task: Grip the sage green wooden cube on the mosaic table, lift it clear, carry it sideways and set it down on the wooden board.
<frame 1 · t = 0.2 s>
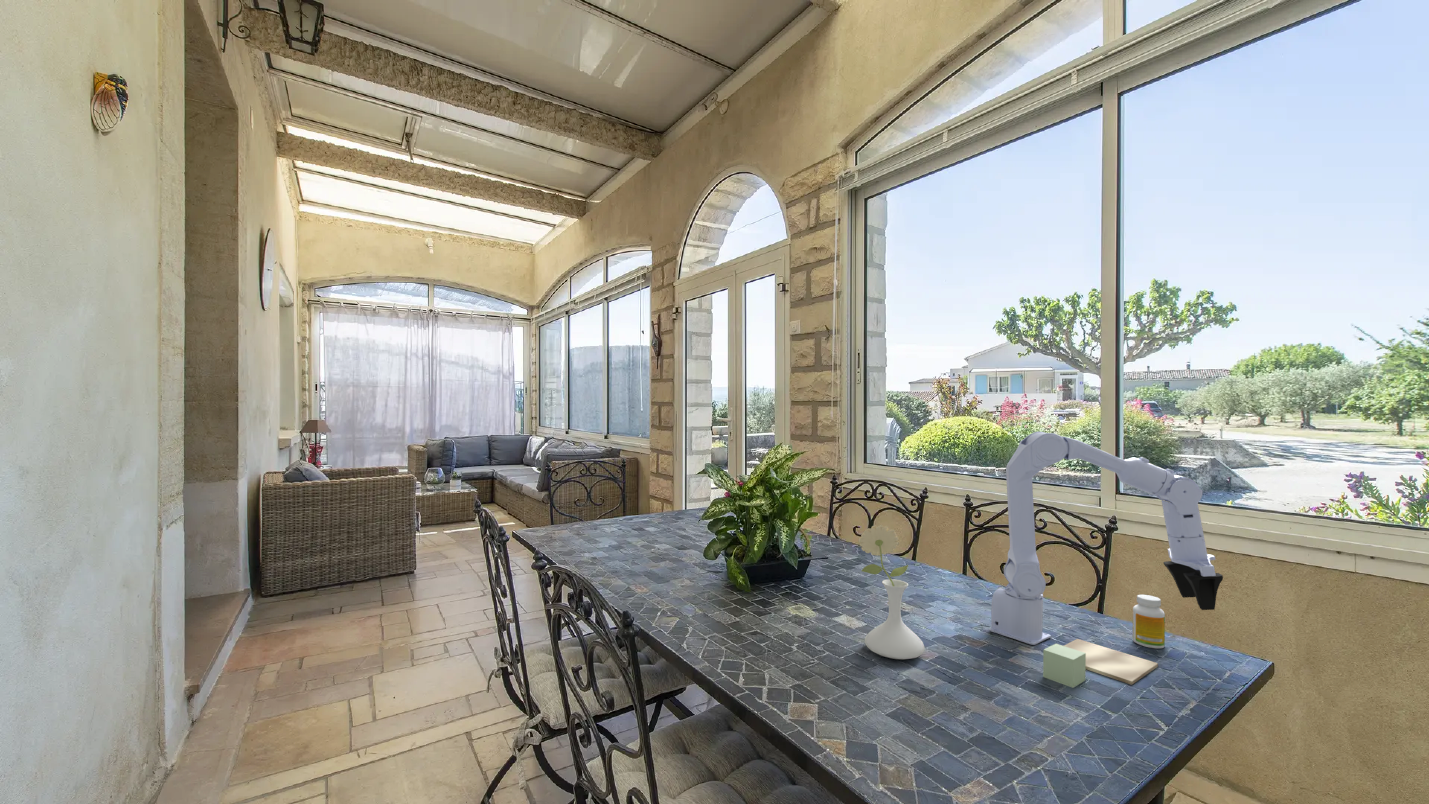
hand: (1197, 602, 115), 11 cm above the table, tool pointing down, fingers open, 7 cm apart
sage cube: (1064, 679, 104), on the table
flower in vase: (889, 652, 114), on the table
supplement bottle: (1148, 644, 120), on the table
wooden board: (1102, 661, 111), on the table
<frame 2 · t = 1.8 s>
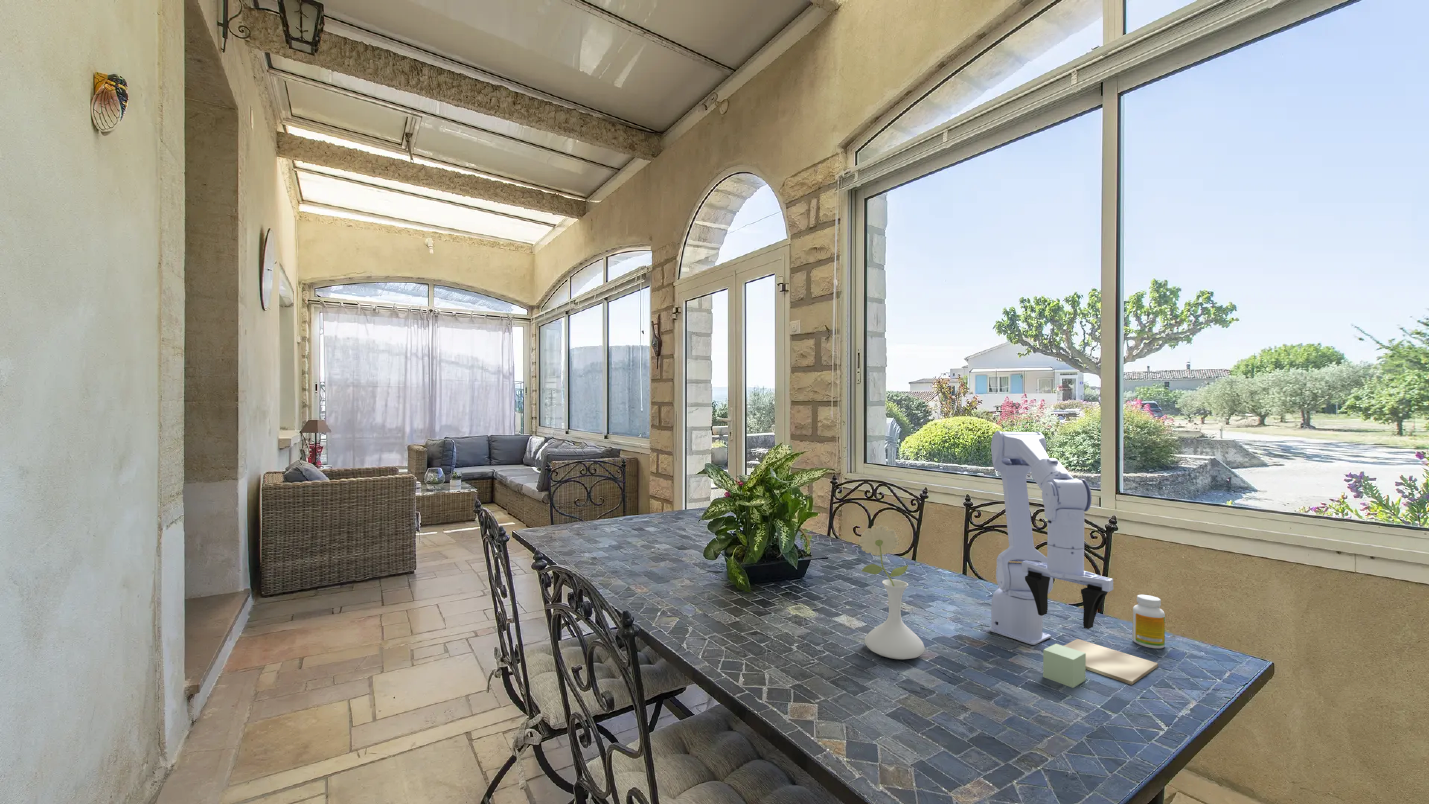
hand: (1064, 620, 104), 10 cm above the table, tool pointing down, fingers open, 7 cm apart
nothing on the table moved.
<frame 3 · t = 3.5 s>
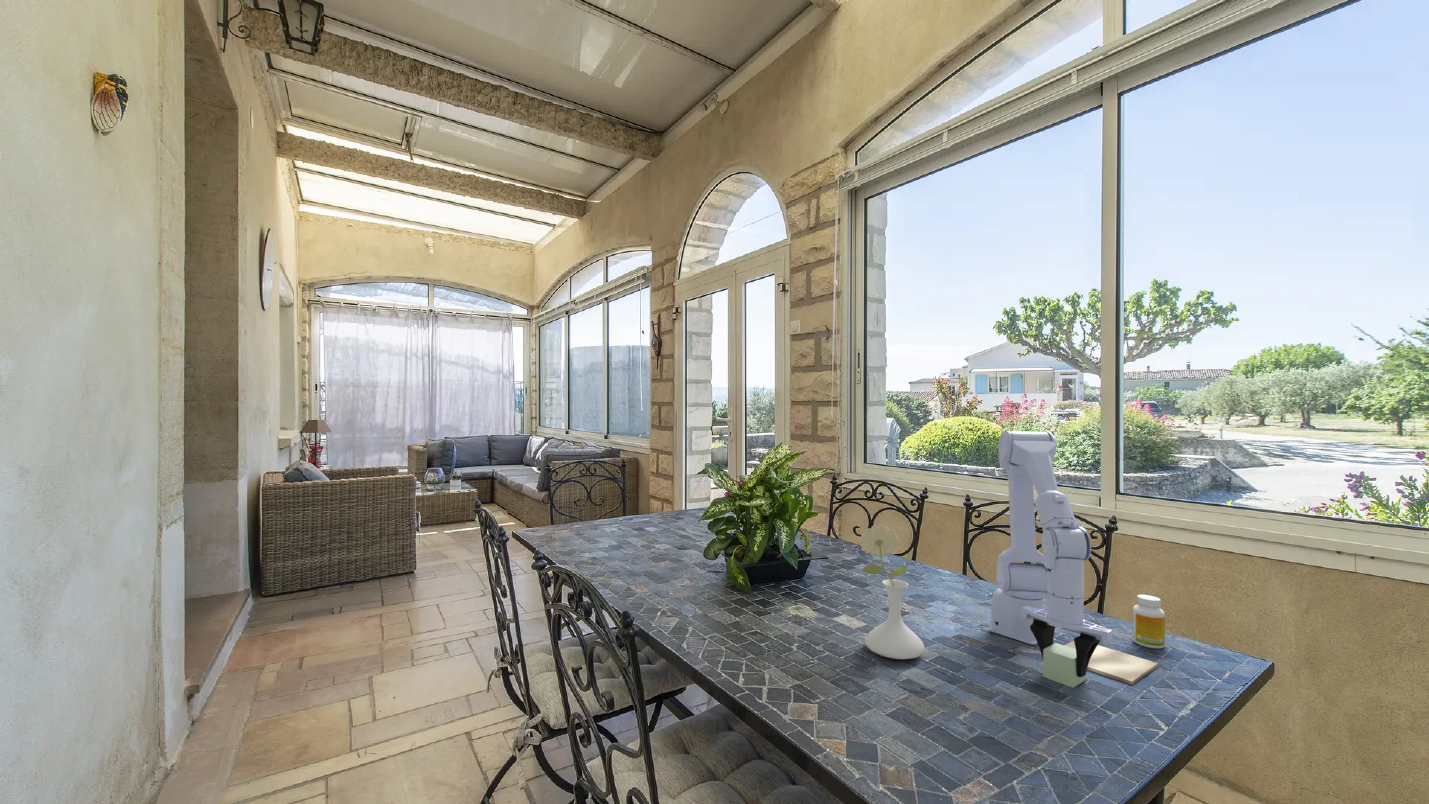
hand: (1064, 669, 104), 2 cm above the table, tool pointing down, fingers closed on sage cube, 5 cm apart
sage cube: (1064, 678, 104), on the table, touching gripper
everything else where it was.
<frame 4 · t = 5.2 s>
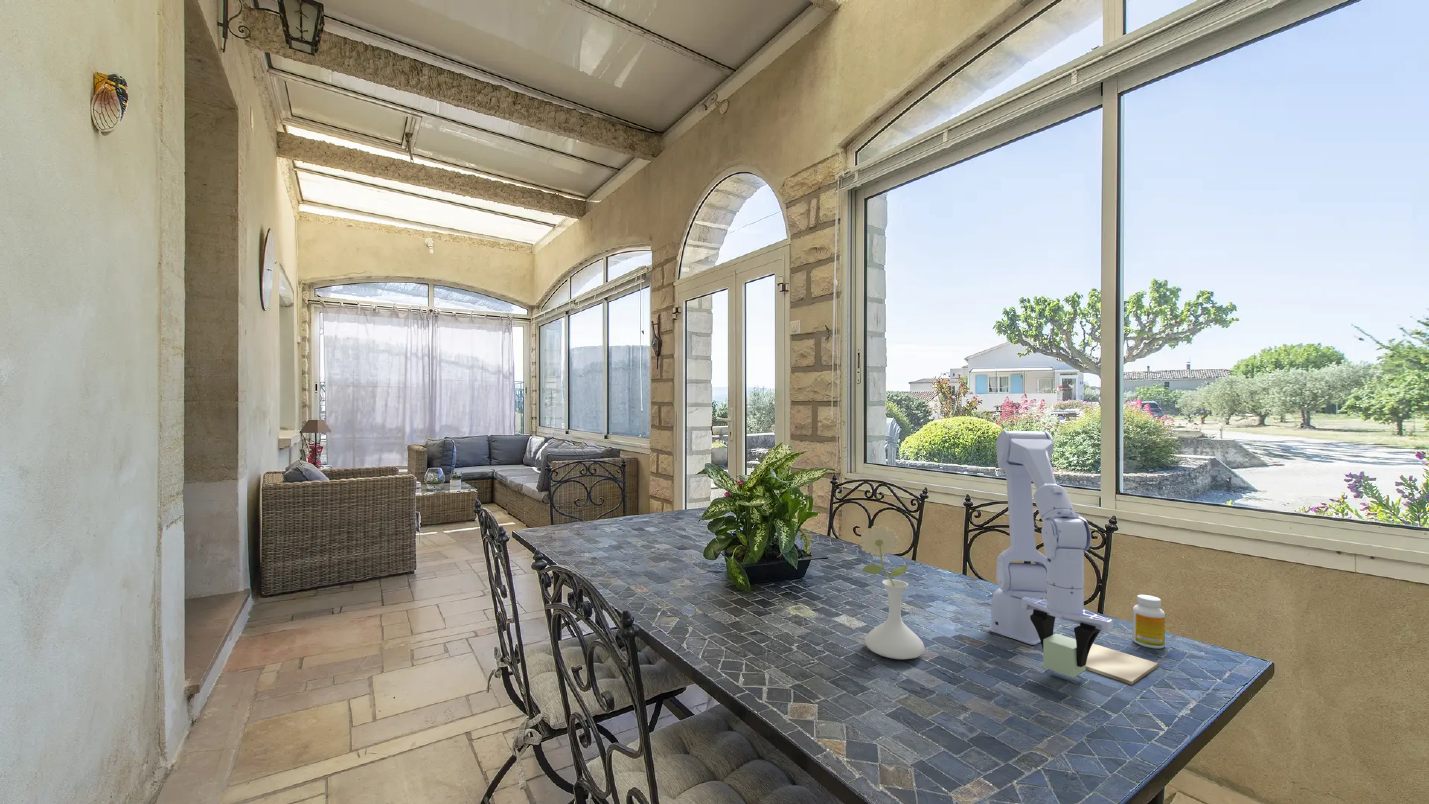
hand: (1064, 659, 104), 3 cm above the table, tool pointing down, fingers closed on sage cube, 5 cm apart
sage cube: (1064, 668, 104), point 2 cm above the table, touching gripper
everything else where it was.
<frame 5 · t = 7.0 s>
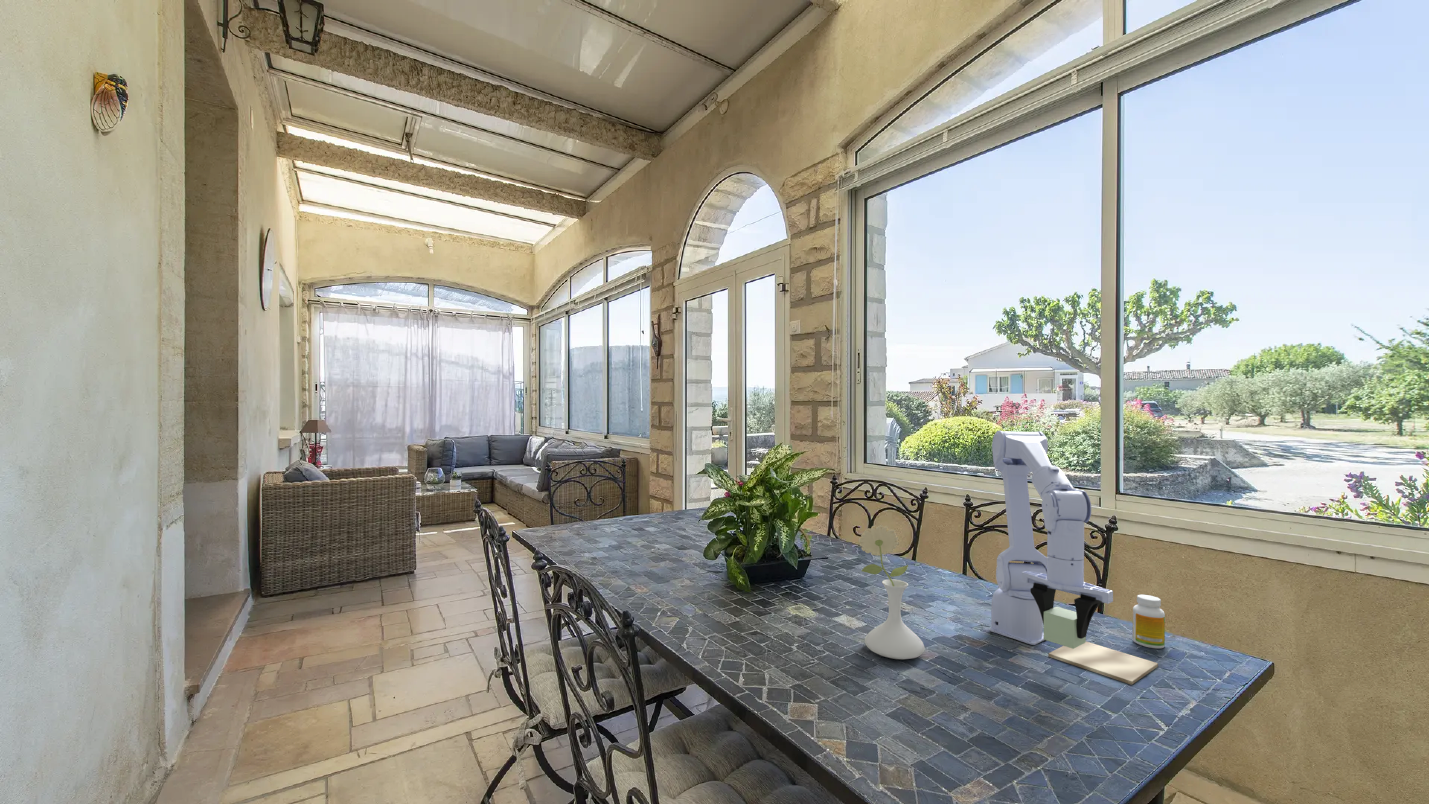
hand: (1064, 631, 104), 8 cm above the table, tool pointing down, fingers closed on sage cube, 5 cm apart
sage cube: (1064, 640, 104), point 7 cm above the table, touching gripper
everything else where it was.
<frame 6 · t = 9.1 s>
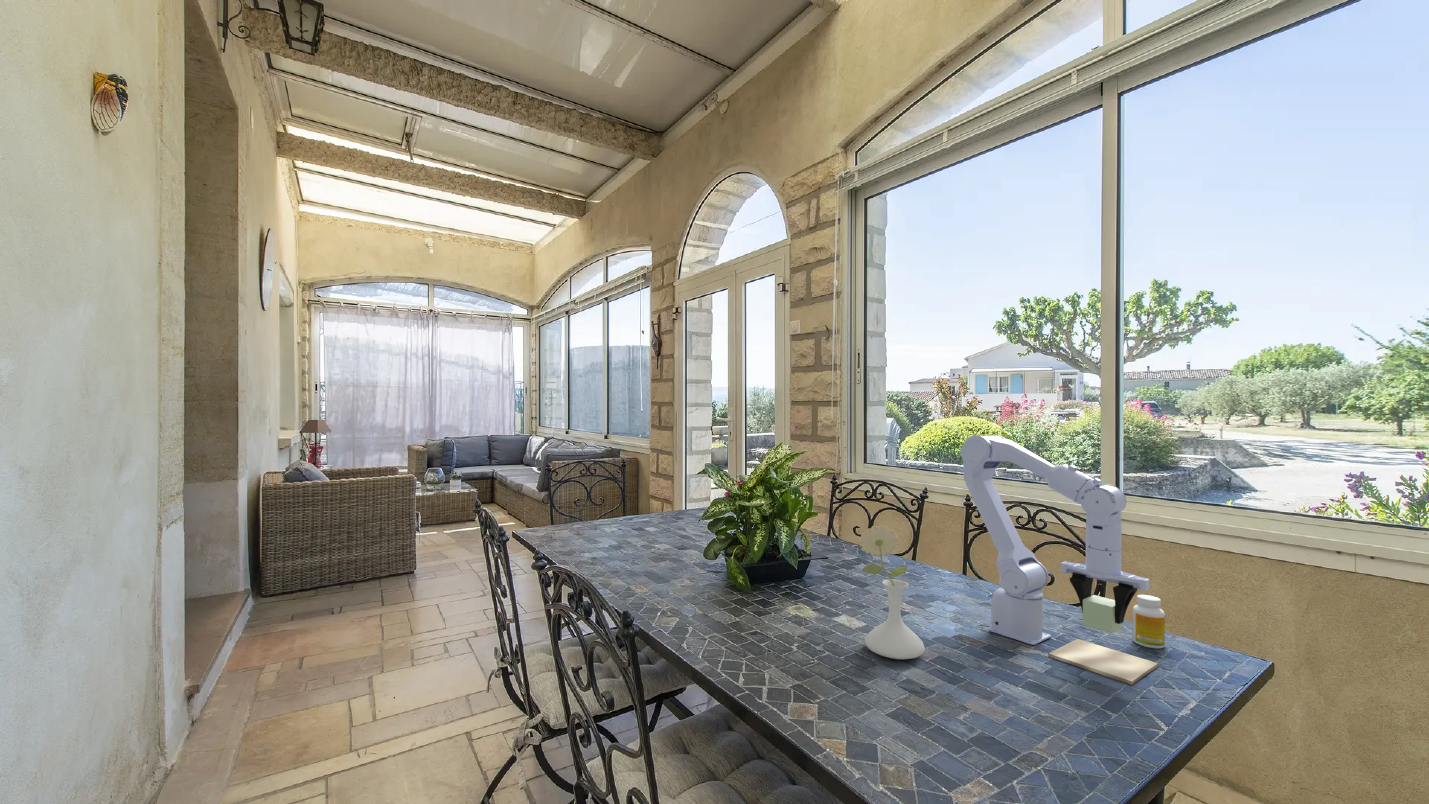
hand: (1102, 617, 111), 8 cm above the table, tool pointing down, fingers closed on sage cube, 5 cm apart
sage cube: (1102, 626, 111), point 7 cm above the table, touching gripper
everything else where it was.
when the fingers open (3 cm above the table, at t = 10.9 s): sage cube stays where it is, resting on wooden board.
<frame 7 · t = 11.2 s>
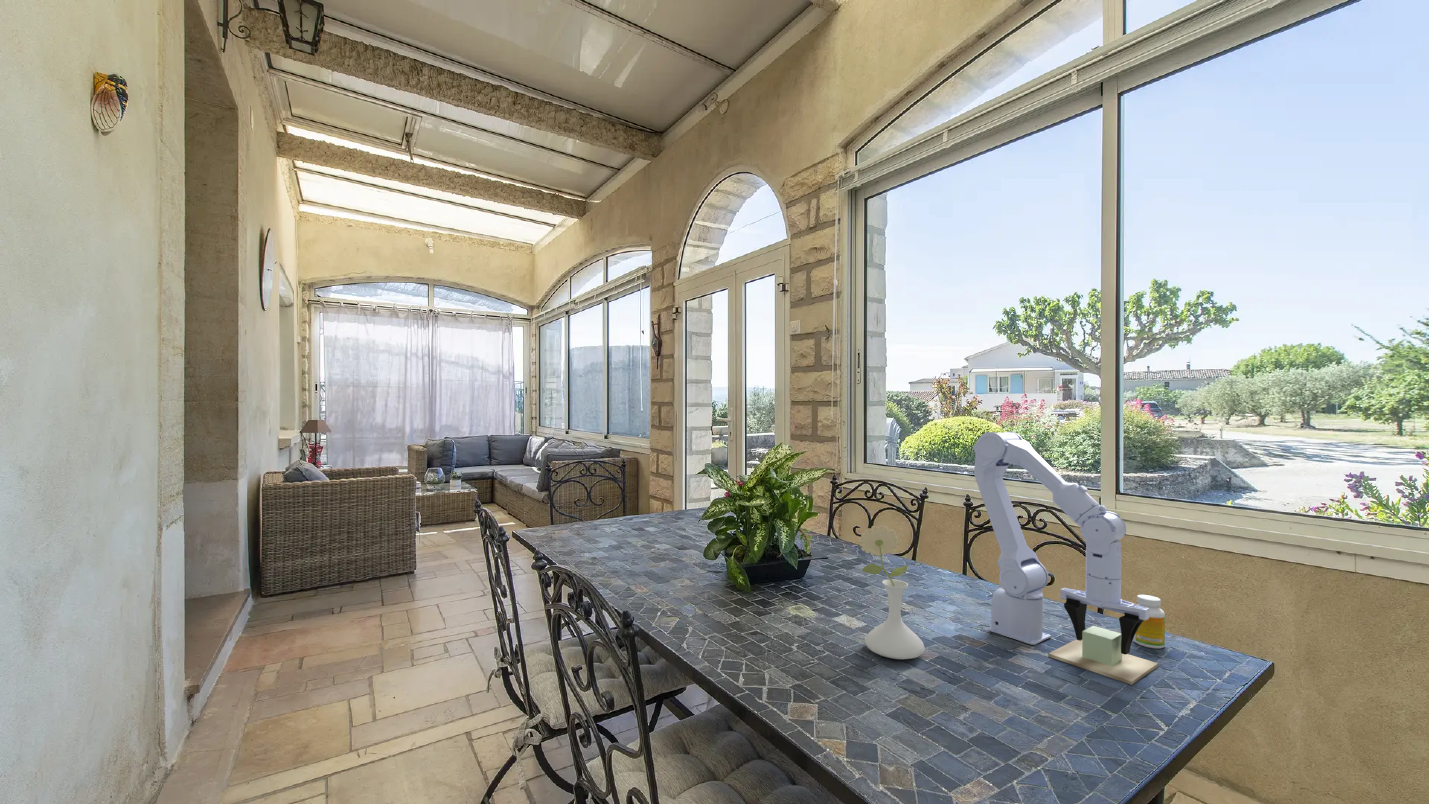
hand: (1102, 645, 111), 3 cm above the table, tool pointing down, fingers open, 7 cm apart
sage cube: (1101, 658, 111), point 1 cm above the table, touching wooden board
everything else where it was.
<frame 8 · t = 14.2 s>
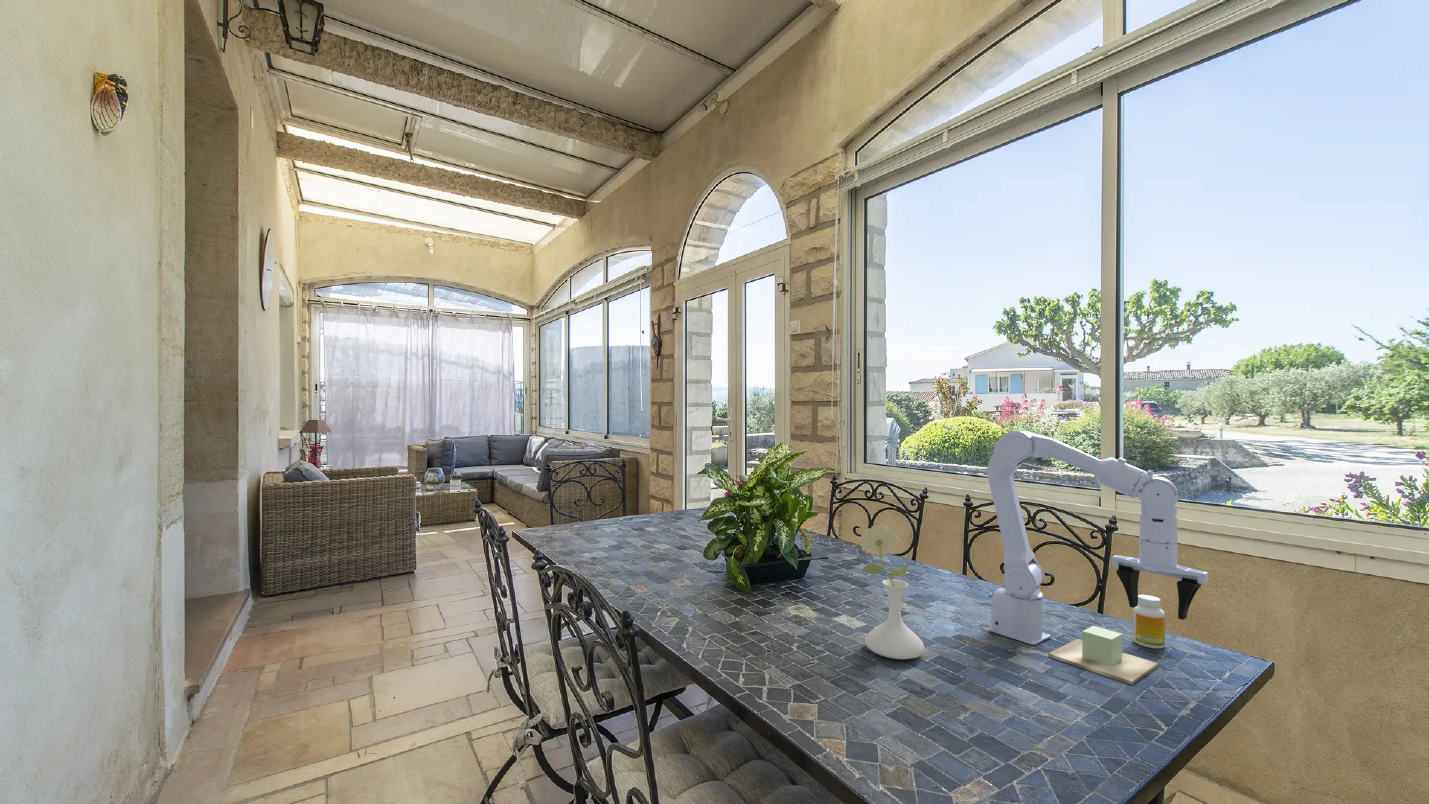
hand: (1157, 612, 109), 10 cm above the table, tool pointing down, fingers open, 7 cm apart
nothing on the table moved.
at the end: sage cube inside the target area on the wooden board (0.1 cm from its centre), point 0.6 cm above the wooden board's base; sage cube tilted 0°; the gripper is holding nothing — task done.
